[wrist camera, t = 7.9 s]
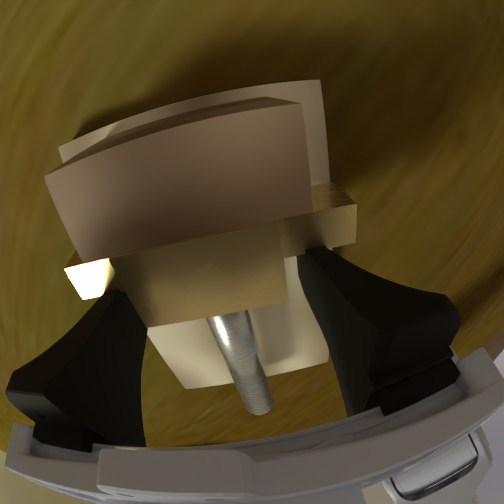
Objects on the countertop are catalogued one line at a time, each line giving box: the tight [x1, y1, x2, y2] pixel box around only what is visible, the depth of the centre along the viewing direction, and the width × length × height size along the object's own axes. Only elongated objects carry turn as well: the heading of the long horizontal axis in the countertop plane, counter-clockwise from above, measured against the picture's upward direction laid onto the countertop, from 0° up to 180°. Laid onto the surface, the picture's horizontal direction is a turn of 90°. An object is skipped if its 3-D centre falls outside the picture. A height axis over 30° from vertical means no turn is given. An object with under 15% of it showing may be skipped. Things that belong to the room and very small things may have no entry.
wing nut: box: [65, 182, 357, 328], centre depth 10 cm, size 11×3×5 cm, turn 99°
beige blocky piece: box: [44, 80, 332, 389], centre depth 14 cm, size 12×20×7 cm, turn 9°
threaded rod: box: [205, 310, 273, 415], centre depth 14 cm, size 2×16×2 cm, turn 10°
